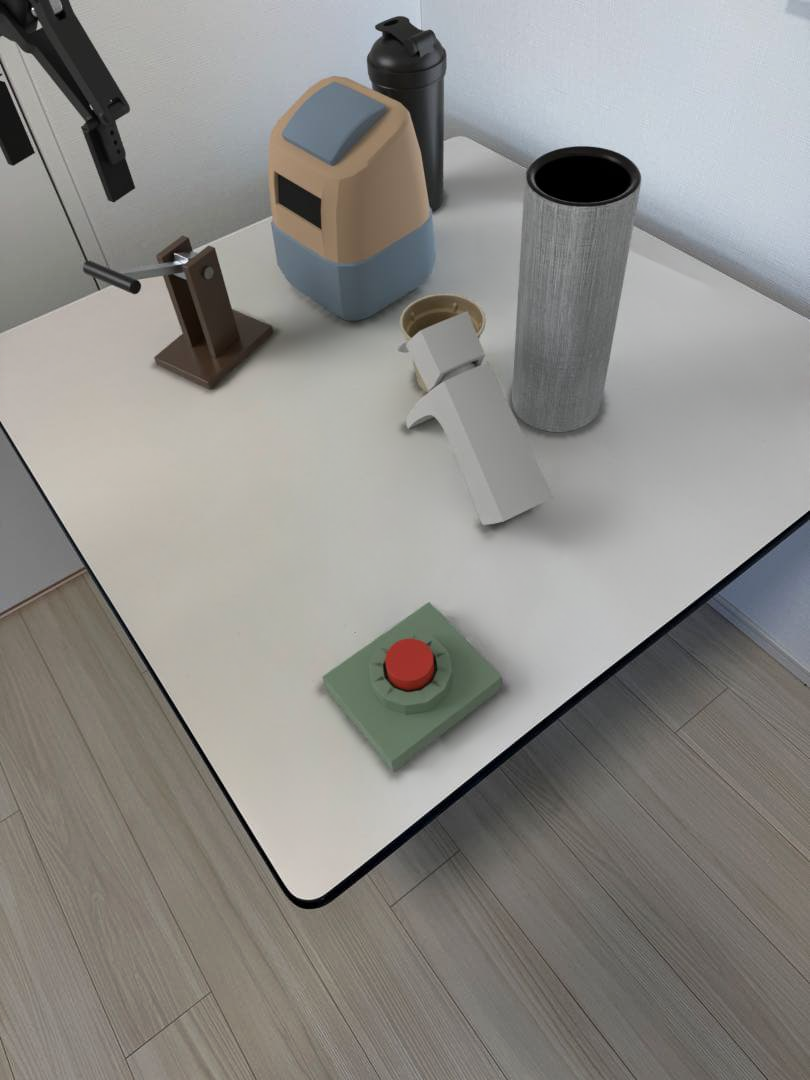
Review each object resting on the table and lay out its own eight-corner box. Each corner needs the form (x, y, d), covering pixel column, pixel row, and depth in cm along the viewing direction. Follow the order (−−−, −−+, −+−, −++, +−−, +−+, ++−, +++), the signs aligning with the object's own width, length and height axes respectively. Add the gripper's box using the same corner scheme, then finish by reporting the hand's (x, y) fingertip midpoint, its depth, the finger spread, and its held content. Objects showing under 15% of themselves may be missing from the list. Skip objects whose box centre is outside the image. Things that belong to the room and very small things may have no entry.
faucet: (502, 522, 77) (414, 324, 75) (448, 530, 92) (374, 367, 91) (557, 495, 78) (472, 301, 77) (494, 508, 94) (423, 347, 92)
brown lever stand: (210, 390, 97) (177, 292, 86) (156, 364, 101) (118, 268, 90) (273, 333, 103) (250, 235, 92) (220, 311, 106) (192, 213, 95)
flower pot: (501, 377, 96) (504, 317, 89) (445, 419, 92) (443, 360, 85) (443, 342, 100) (441, 282, 93) (387, 381, 96) (381, 322, 89)
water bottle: (417, 174, 124) (409, 3, 105) (463, 199, 119) (463, 25, 100) (365, 200, 120) (347, 28, 102) (410, 228, 115) (399, 53, 97)
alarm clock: (271, 285, 109) (231, 107, 90) (366, 232, 115) (347, 55, 97) (351, 341, 101) (326, 159, 83) (448, 281, 107) (445, 99, 89)
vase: (615, 390, 93) (660, 160, 71) (576, 446, 88) (611, 217, 67) (537, 361, 97) (557, 134, 75) (495, 413, 92) (504, 187, 70)
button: (406, 699, 68) (405, 689, 66) (377, 666, 70) (375, 656, 68) (443, 671, 69) (443, 661, 68) (414, 640, 71) (413, 629, 70)
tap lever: (130, 300, 83) (130, 276, 81) (82, 279, 85) (82, 256, 84) (220, 283, 93) (222, 262, 91) (176, 265, 95) (176, 244, 94)
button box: (393, 772, 68) (389, 753, 64) (325, 688, 73) (318, 666, 70) (501, 688, 72) (503, 667, 68) (429, 614, 77) (428, 590, 73)
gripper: (116, -104, 56) (196, 190, 73) (-104, -140, 65) (13, 128, 82) (32, -68, 52) (137, 232, 69) (-188, -112, 61) (-48, 162, 78)
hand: (70, 176), depth 76 cm, fingers open, 13 cm apart
